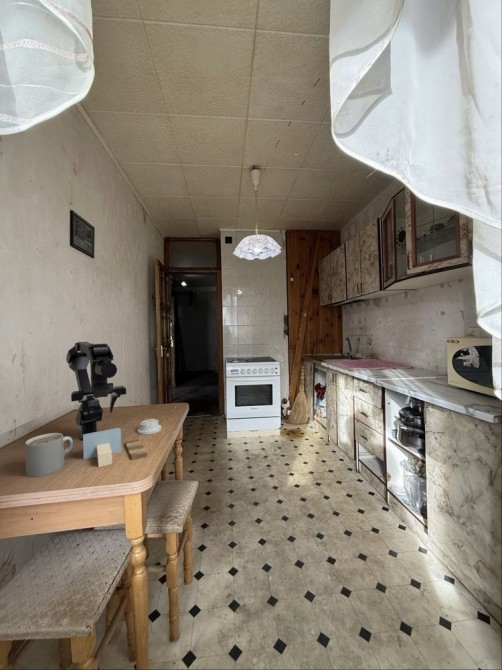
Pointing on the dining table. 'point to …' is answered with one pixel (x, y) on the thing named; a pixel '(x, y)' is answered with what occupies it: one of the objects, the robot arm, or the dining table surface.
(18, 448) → the dining table surface
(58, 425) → the dining table surface
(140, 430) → the mechanical component
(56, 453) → the coffee mug
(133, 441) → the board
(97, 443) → the light blue upright panel
